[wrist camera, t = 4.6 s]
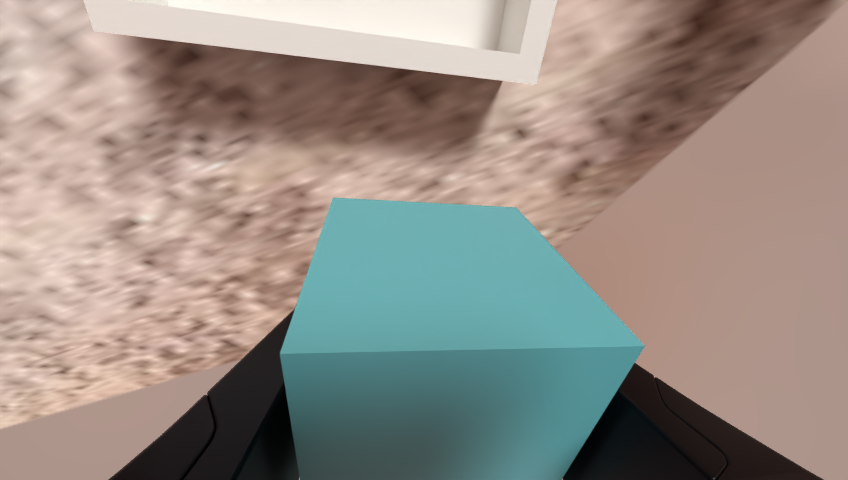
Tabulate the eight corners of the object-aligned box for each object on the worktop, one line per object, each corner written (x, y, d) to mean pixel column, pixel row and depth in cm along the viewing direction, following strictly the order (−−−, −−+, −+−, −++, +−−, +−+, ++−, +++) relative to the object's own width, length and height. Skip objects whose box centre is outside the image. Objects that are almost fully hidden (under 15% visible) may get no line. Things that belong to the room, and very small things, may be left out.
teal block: (516, 207, 9) (645, 346, 5) (481, 336, 11) (544, 506, 7) (332, 197, 8) (280, 353, 4) (337, 338, 10) (308, 531, 6)
